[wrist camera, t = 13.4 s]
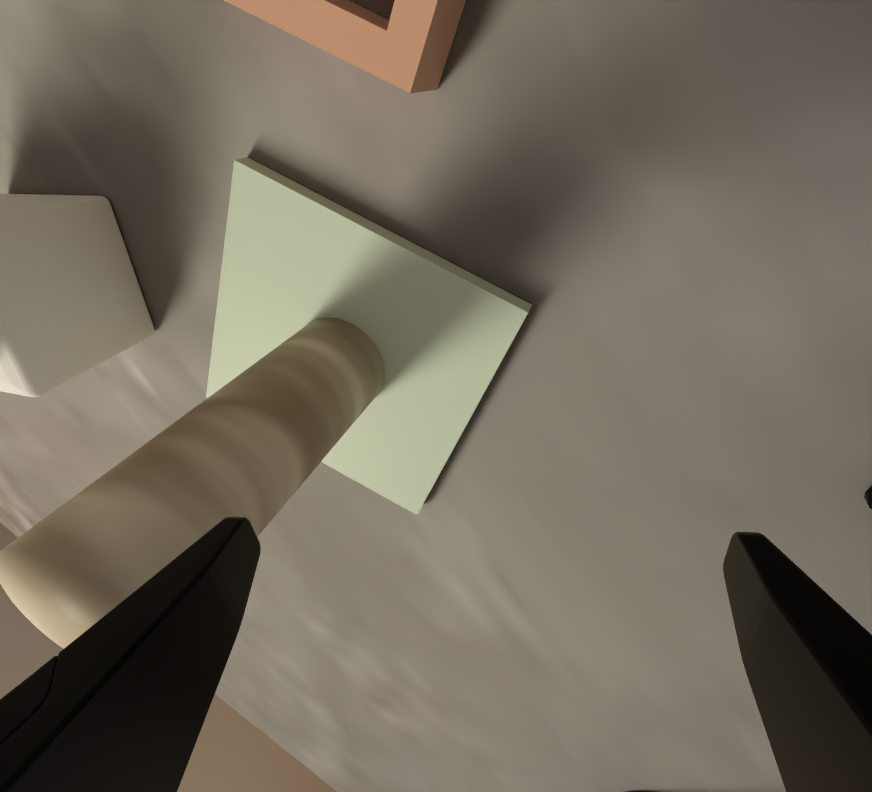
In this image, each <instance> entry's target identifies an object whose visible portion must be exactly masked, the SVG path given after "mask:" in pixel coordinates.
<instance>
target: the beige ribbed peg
mask: <svg viewBox="0 0 872 792" xmlns="http://www.w3.org/2000/svg"><path fill="white" fill-rule="evenodd" d="M384 376H385V372H384V364H383V360H382V357H381V355H380V353H379V351H378V349H377V347H376V346H375V344H374V343H373V341H372V340H371V339H370V338H369V337H368V336H367V335H366V334H365V333H364V332H363V331H362V330H361V329H359V328H358V327H356V326H355V325H353V324H351V323H349V322H347V321H344V320H341V319H337V318H320V319H317V320H314V321H312V322H310V323H309V324H307V325H306V326H305V327H303V328H302V329H301V330H299V331H298V332H297V333H295V334H294V335H292V336H291V337H290V338H288V339H287V340H286V341H284V342H283V343H282V344H280V345H279V346H278V347H276V348H275V349H274V350H272V351H271V352H269V353H268V354H267V355H265V356H264V357H263V358H261V359H260V360H259V361H257V362H256V363H255V364H253V365H252V366H251V367H249V368H248V369H246V370H245V371H244V372H242V373H241V374H240V375H238V376H237V377H236V378H234V379H233V380H232V381H230V382H229V383H227V384H226V385H225V386H223V387H222V388H221V389H219V390H218V391H217V392H215V393H214V394H213V395H211V396H210V397H209V398H207V399H206V400H204V401H203V402H202V403H200V404H199V405H198V406H196V407H195V408H194V409H192V410H191V411H190V412H188V413H187V414H186V415H184V416H183V417H181V418H180V419H179V420H177V421H176V422H175V423H173V424H172V425H171V426H169V427H168V428H167V429H165V430H164V431H162V432H161V433H160V434H158V435H157V436H156V437H154V438H153V439H152V440H150V441H149V442H148V443H146V444H145V445H144V446H142V447H141V448H139V449H138V450H137V451H135V452H134V453H133V454H131V455H130V456H129V457H127V458H126V459H125V460H123V461H122V462H121V463H119V464H118V465H116V466H115V467H114V468H112V469H111V470H110V471H108V472H107V473H106V474H104V475H103V476H102V477H100V478H99V479H97V480H96V481H95V482H93V483H92V484H91V485H89V486H88V487H87V488H85V489H84V490H83V491H81V492H80V493H79V494H77V495H76V496H74V497H73V498H72V499H70V500H69V501H68V502H66V503H65V504H64V505H62V506H61V507H60V508H58V509H57V510H56V511H54V512H53V513H51V514H50V515H49V516H47V517H46V518H45V519H43V520H42V521H41V522H39V523H38V524H37V525H35V526H34V527H32V528H31V529H30V530H28V531H27V532H26V533H24V534H23V535H22V536H20V537H19V538H18V539H16V540H15V541H14V542H12V543H11V544H10V545H8V546H7V547H6V548H4V549H3V550H2V551H0V583H1V585H2V587H3V589H4V590H5V592H6V593H7V595H8V596H9V598H10V599H11V600H12V602H13V603H14V604H15V605H16V606H17V608H18V609H19V610H20V611H21V612H22V613H23V614H24V615H25V616H26V617H27V619H29V620H30V621H31V622H32V623H33V624H34V625H35V626H36V627H37V628H38V629H39V630H40V631H41V632H43V633H44V634H45V635H46V636H47V637H49V638H50V639H51V640H52V641H54V642H55V643H56V644H58V645H59V646H60V647H62V648H63V649H64V648H65V647H67V646H68V645H69V644H70V643H72V642H73V641H74V640H75V639H76V638H78V637H79V636H80V635H81V634H83V633H84V632H85V631H86V630H88V629H89V628H90V627H91V626H92V625H94V624H95V623H96V622H97V621H99V620H100V619H101V618H102V617H104V616H105V615H106V614H107V613H108V612H110V611H111V610H112V609H113V608H115V607H116V606H117V605H118V604H120V603H121V602H122V601H123V600H124V599H126V598H127V597H128V596H129V595H131V594H132V593H133V592H134V591H136V590H137V589H138V588H139V587H140V586H142V585H143V584H144V583H145V582H147V581H148V580H149V579H150V578H152V577H153V576H154V575H155V574H156V573H158V572H159V571H160V570H161V569H163V568H164V567H165V566H166V565H168V564H169V563H170V562H171V561H172V560H174V559H175V558H176V557H177V556H179V555H180V554H181V553H182V552H184V551H185V550H186V549H187V548H188V547H190V546H191V545H192V544H193V543H195V542H196V541H197V540H198V539H200V538H201V537H202V536H203V535H204V534H206V533H207V532H208V531H209V530H211V529H212V528H213V527H214V526H215V525H217V524H218V523H219V522H220V521H222V520H223V519H224V518H226V517H231V516H232V517H246V518H248V519H249V520H250V522H251V524H252V527H253V529H254V531H255V533H256V536H258V535H259V534H260V533H261V532H262V530H263V529H264V528H265V527H266V526H267V525H268V523H269V522H270V521H271V520H272V519H273V517H274V516H275V515H276V514H277V513H278V512H279V510H280V509H281V508H282V507H283V506H284V504H285V503H286V502H287V501H288V500H289V499H290V497H291V496H292V495H293V494H294V493H295V492H296V490H297V489H298V488H299V487H300V486H301V484H302V483H303V482H304V481H305V480H306V479H307V477H308V476H309V475H310V474H311V473H312V471H313V470H314V469H315V468H316V467H317V466H318V464H319V463H320V462H321V461H322V460H323V458H324V457H325V456H326V455H327V454H328V453H329V451H330V450H331V449H332V448H333V447H334V446H335V444H336V443H337V442H338V441H339V440H340V438H341V437H342V436H343V435H344V434H345V433H346V431H347V430H348V429H349V428H350V427H351V425H352V424H353V423H354V422H355V421H356V420H357V418H358V417H359V416H360V415H361V414H362V412H363V411H364V410H365V409H366V408H367V407H368V405H369V404H370V403H371V402H372V401H373V400H374V398H375V397H376V396H377V395H378V394H379V392H380V390H381V389H382V386H383V383H384Z"/></svg>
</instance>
